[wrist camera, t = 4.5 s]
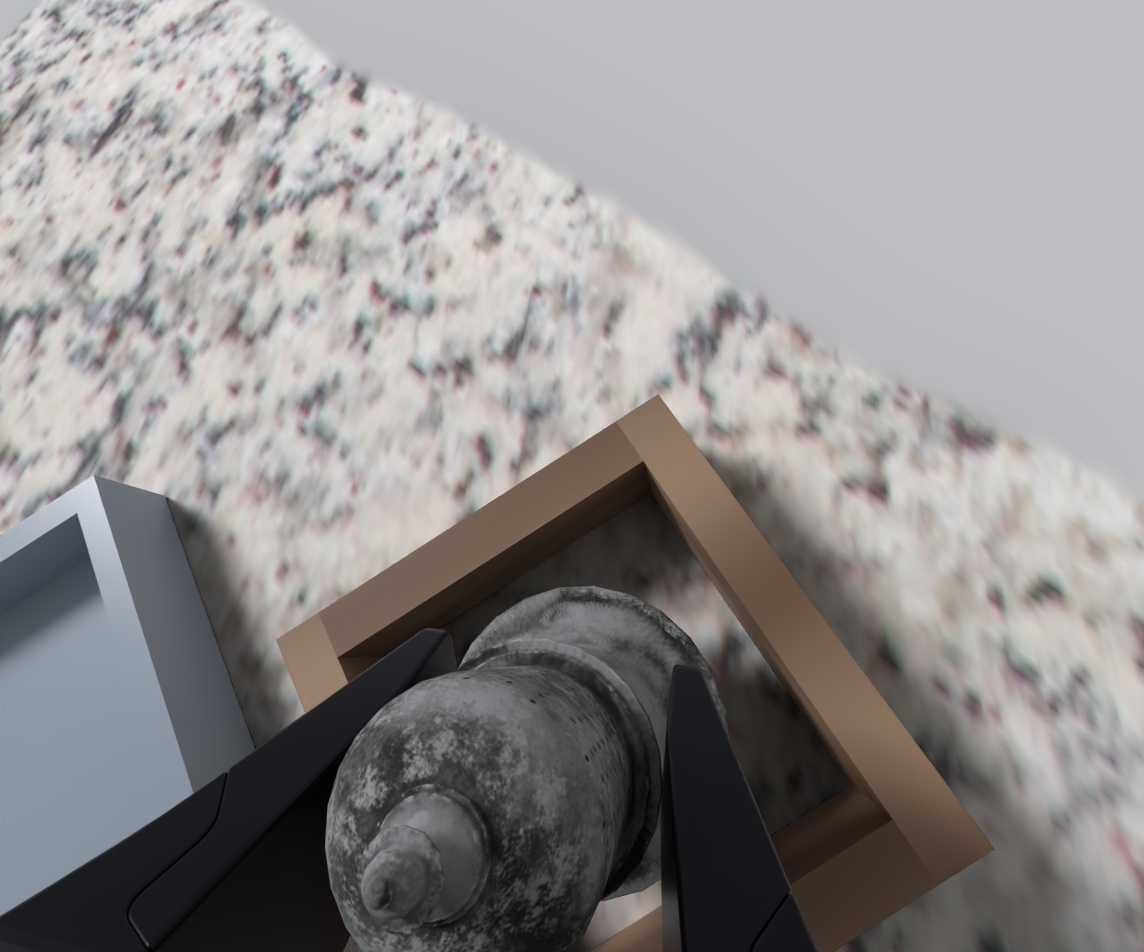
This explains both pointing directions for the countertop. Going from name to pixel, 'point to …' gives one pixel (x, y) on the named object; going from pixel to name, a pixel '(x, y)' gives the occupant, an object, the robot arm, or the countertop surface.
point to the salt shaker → (512, 782)
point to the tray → (102, 682)
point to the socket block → (767, 613)
